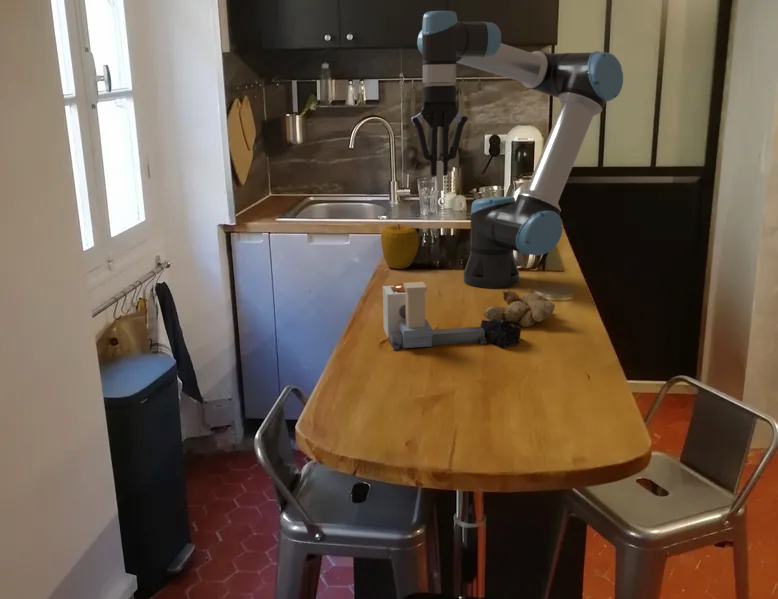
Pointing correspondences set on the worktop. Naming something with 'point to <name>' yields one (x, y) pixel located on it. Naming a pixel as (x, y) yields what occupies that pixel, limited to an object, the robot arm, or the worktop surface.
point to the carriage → (415, 317)
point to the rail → (446, 336)
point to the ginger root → (521, 309)
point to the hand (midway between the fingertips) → (438, 189)
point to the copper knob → (399, 288)
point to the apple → (399, 245)
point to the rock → (501, 332)
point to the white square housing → (393, 309)
